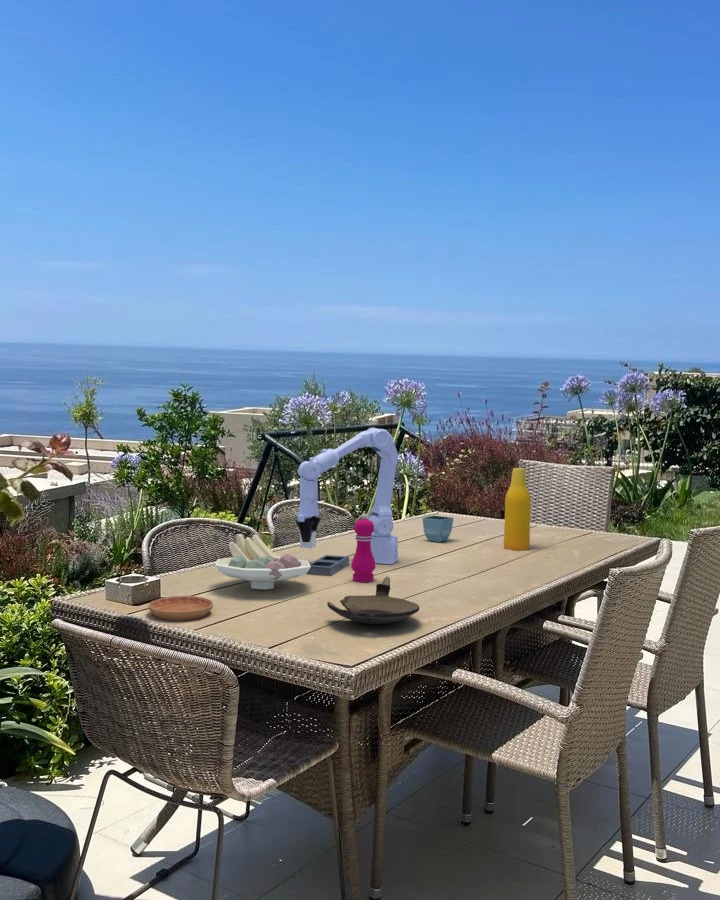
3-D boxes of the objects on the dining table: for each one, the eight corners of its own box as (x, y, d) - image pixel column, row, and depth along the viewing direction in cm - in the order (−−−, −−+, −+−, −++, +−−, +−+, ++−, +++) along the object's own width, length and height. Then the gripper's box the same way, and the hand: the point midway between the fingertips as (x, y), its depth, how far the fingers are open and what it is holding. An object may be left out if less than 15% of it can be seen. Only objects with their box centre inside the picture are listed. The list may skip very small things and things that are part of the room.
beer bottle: (534, 549, 327) (537, 469, 325) (516, 551, 322) (518, 470, 320) (516, 545, 335) (519, 466, 333) (498, 547, 330) (500, 467, 327)
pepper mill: (363, 576, 276) (364, 511, 275) (380, 580, 271) (381, 514, 269) (346, 579, 271) (347, 513, 270) (363, 583, 266) (364, 516, 264)
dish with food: (250, 573, 277) (250, 527, 276) (329, 584, 265) (330, 536, 264) (193, 591, 253) (193, 541, 252) (277, 604, 240) (278, 551, 239)
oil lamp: (307, 626, 219) (308, 594, 219) (372, 602, 244) (373, 573, 244) (387, 641, 207) (387, 608, 207) (447, 614, 232) (447, 584, 232)
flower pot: (433, 538, 347) (433, 515, 346) (453, 541, 342) (454, 517, 341) (421, 541, 340) (421, 517, 339) (441, 544, 335) (442, 520, 334)
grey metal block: (315, 546, 293) (315, 529, 292) (311, 548, 289) (311, 531, 289) (304, 545, 294) (304, 529, 294) (299, 547, 290) (299, 530, 290)
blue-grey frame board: (349, 564, 294) (349, 556, 294) (330, 575, 276) (330, 567, 276) (325, 562, 296) (325, 555, 296) (305, 573, 278) (305, 565, 278)
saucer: (210, 623, 221) (210, 610, 221) (143, 623, 220) (143, 611, 220) (215, 606, 237) (215, 595, 237) (153, 607, 236) (153, 595, 236)
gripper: (304, 495, 298) (304, 536, 299) (288, 501, 284) (288, 543, 285) (325, 496, 296) (324, 537, 297) (310, 502, 282) (309, 545, 283)
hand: (308, 540), depth 291 cm, fingers closed on grey metal block, 4 cm apart
